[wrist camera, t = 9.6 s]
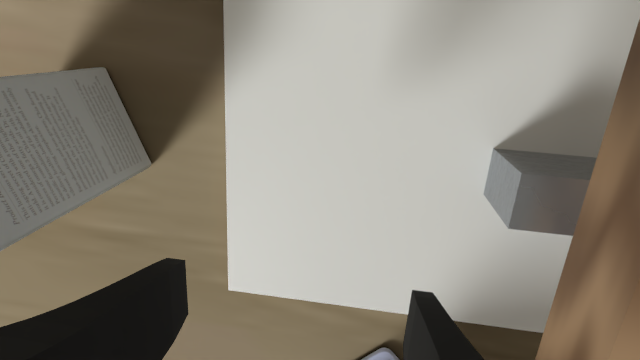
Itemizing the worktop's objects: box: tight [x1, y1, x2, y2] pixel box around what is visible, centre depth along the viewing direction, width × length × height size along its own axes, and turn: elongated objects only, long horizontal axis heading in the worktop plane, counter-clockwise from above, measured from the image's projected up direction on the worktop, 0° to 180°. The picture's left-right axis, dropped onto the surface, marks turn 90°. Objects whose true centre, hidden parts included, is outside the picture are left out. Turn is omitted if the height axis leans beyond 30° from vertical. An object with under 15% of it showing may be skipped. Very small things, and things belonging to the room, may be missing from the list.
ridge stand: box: [223, 0, 640, 333], centre depth 18 cm, size 24×18×5 cm
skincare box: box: [0, 67, 151, 251], centre depth 17 cm, size 6×4×12 cm
